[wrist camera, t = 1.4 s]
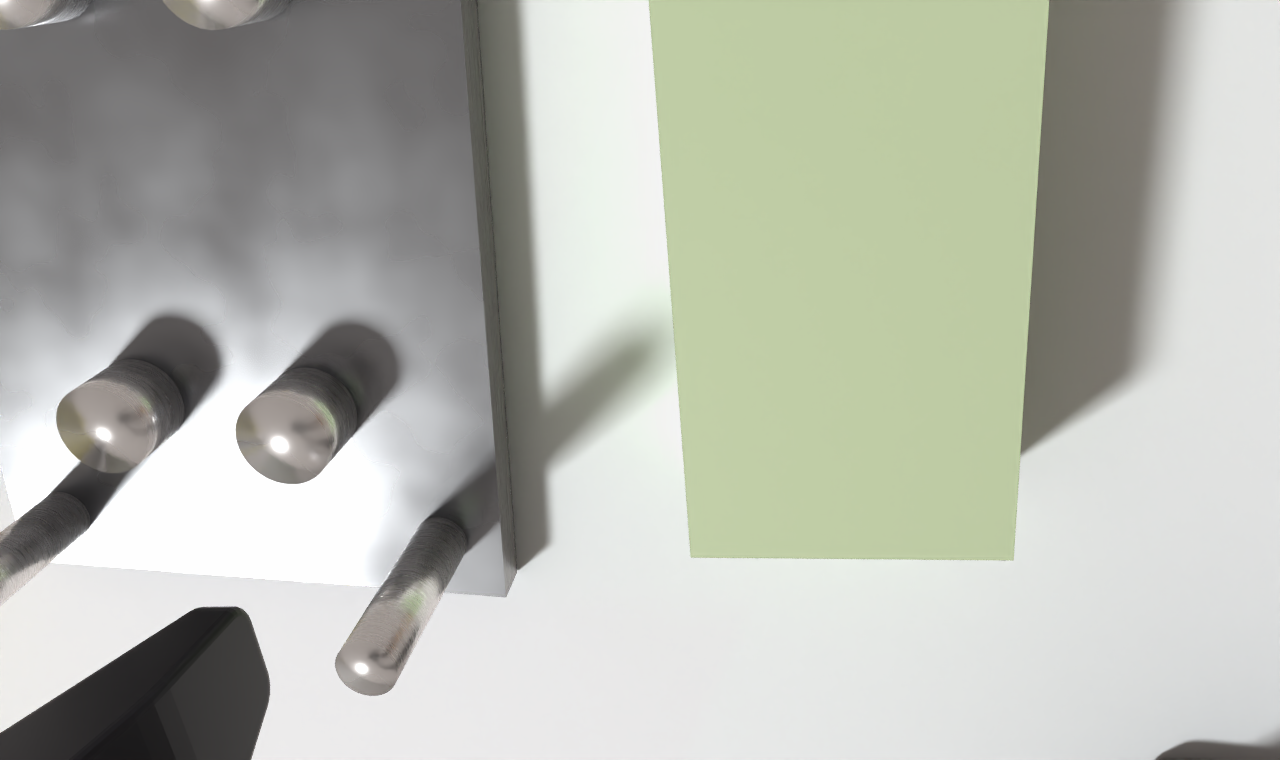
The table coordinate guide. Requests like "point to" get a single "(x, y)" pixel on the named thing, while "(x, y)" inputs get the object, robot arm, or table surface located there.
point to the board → (850, 269)
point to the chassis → (254, 301)
